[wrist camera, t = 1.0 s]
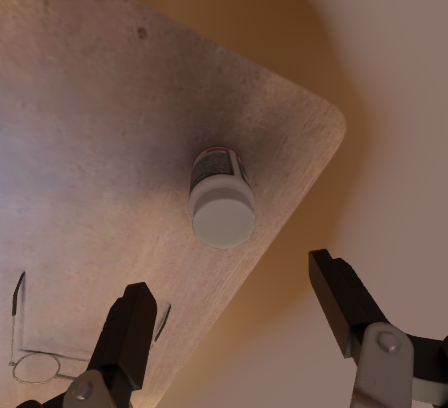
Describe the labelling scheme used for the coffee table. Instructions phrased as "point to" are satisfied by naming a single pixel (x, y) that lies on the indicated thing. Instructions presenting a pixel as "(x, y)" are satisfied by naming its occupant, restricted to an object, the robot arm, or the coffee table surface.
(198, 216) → the pill bottle
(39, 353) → the eyeglasses
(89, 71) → the coffee table surface
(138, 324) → the robot arm
